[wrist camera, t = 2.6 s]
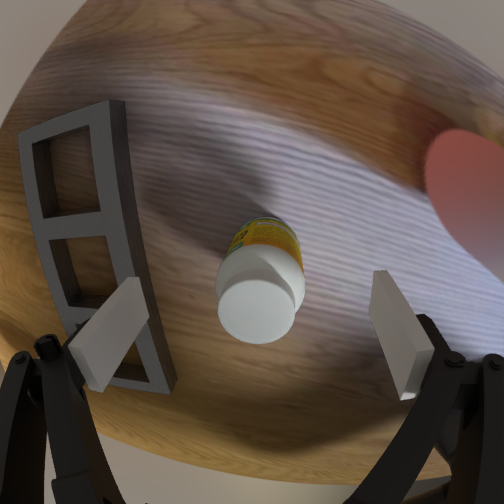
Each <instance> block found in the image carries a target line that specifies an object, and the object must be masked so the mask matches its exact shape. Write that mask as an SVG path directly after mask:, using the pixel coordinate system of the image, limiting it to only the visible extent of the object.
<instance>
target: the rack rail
mask: <svg viewBox="0 0 504 504" xmlns="http://www.w3.org/2000/svg"><path fill="white" fill-rule="evenodd" d="M89 128H90V139H91V148H92V157H93V164H94V172H95V179H96V185H97V192H98V198H99V203H100V206H95V207H88V208H81V209H73V210H67V211H60V212H59V207H58V202H57V196H56V191H55V185H54V178H53V172H52V164H51V156H50V148H49V141H51V140H54V139H57V138H60V137H63V136H66V135H69V134H72V133H75V132H79V131H82V130H85V129H89ZM17 135H18V146H19V156H20V164H21V171H22V178H23V185H24V191H25V196H26V202H27V207H28V212H29V216H30V221H31V225H32V230H33V234H34V238H35V242H36V246H37V249H38V253H39V256H40V260H41V263H42V267H43V270H44V273H45V276H46V280H47V283H48V286H49V289H50V292H51V294H52V297H53V300H54V303H55V306H56V308H57V311H58V314H59V316H60V319H61V321H62V324H63V326H64V329H65V331H66V333H67V336H68V338H70V336H71V335H73V333H74V332H75V331H76V330H77V328H78V327H79V326H80V325H81V324H82V323H83V322H84V321H86V320H87V319H89V318H92V316H93V315H94V314H95V313H96V312H97V311H98V310H99V308H100V307H101V306H102V305H103V304H104V303H105V302H106V301H107V299H108V298H109V297H110V296H97V295H81V292H80V289H79V286H78V283H77V280H76V276H75V273H74V269H73V266H72V262H71V259H70V255H69V251H68V247H67V243H66V239H65V238H78V237H91V236H105V235H106V239H107V243H108V248H109V252H110V256H111V261H112V265H113V269H114V273H115V277H116V280H117V284H118V287H119V286H120V285H121V284H122V283H123V282H124V281H125V280H126V279H127V277H139V279H140V283H141V287H142V291H143V295H144V299H145V302H146V306H147V310H148V313H149V318H148V320H147V321H146V323H145V324H144V326H143V328H142V329H141V331H140V332H139V334H138V335H137V337H136V339H135V343H136V346H137V349H138V352H139V355H140V357H141V360H142V363H143V366H140V365H132V364H125V363H120V365H119V366H118V368H117V370H116V371H115V373H114V375H113V376H112V378H111V380H110V381H109V383H108V385H113V386H118V387H123V388H129V389H135V390H141V391H148V392H155V393H162V394H170V395H171V393H172V391H173V389H174V386H175V384H176V381H177V376H176V373H175V369H174V366H173V363H172V359H171V356H170V353H169V349H168V346H167V342H166V339H165V335H164V331H163V328H162V324H161V320H160V316H159V312H158V308H157V304H156V300H155V296H154V292H153V288H152V283H151V279H150V274H149V270H148V265H147V260H146V255H145V250H144V245H143V240H142V235H141V229H140V224H139V218H138V212H137V206H136V200H135V193H134V186H133V179H132V172H131V164H130V156H129V147H128V137H127V127H126V115H125V102H124V101H116V100H106V101H102V102H99V103H96V104H93V105H90V106H87V107H84V108H81V109H78V110H75V111H72V112H69V113H66V114H64V115H61V116H58V117H56V118H53V119H50V120H48V121H45V122H43V123H40V124H38V125H36V126H33V127H31V128H29V129H26V130H24V131H22V132H20V133H17Z"/></svg>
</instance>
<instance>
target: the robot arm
mask: <svg viewBox="0 0 504 504" xmlns="http://www.w3.org/2000/svg"><path fill="white" fill-rule="evenodd" d="M369 316H370V318H371V321H372V324H373V326H374V329H375V331H376V334H377V336H378V339H379V342H380V344H381V347H382V350H383V352H384V355H385V358H386V360H387V363H388V366H389V369H390V371H391V374H392V377H393V380H394V383H395V386H396V389H397V392H398V395H399V398H400V400H405V399H411V398H416V397H417V395H418V393H419V390H420V389H421V393H420V395H419V397H418V399H417V400H416V402H415V404H414V406H413V408H412V409H411V411H410V413H409V414H408V416H407V418H406V419H405V421H404V423H403V424H402V426H401V428H400V429H399V431H398V432H397V434H396V435H395V437H394V439H393V440H392V442H391V443H390V445H389V446H388V448H387V449H386V450H385V452H384V453H383V455H382V456H381V458H380V459H379V460H378V462H377V463H376V465H375V466H374V467H373V469H372V470H371V471H370V473H369V474H368V475H367V477H366V478H365V479H364V480H363V482H362V483H361V484H360V485H359V487H358V488H357V489H356V490H355V492H354V493H353V494H352V495H351V496H350V497H349V498H348V499H347V500H346V501H345V502H344V503H343V504H504V357H502V356H500V355H498V354H488V355H486V356H485V357H484V359H483V361H482V363H474V362H467V361H466V359H465V357H464V356H463V355H461V354H460V353H458V352H454V351H451V350H450V348H449V346H448V345H447V343H446V341H445V340H444V338H443V337H442V335H441V333H440V332H439V330H438V329H437V328H436V325H435V324H434V322H433V321H432V319H430V318H429V317H428V316H426V315H425V314H419V315H415V314H414V312H413V310H412V309H411V307H410V306H409V304H408V302H407V301H406V299H405V297H404V296H403V294H402V293H401V291H400V290H399V288H398V286H397V285H396V283H395V282H394V280H393V279H392V277H391V276H390V274H389V273H388V271H387V270H381V271H374V275H373V284H372V292H371V300H370V307H369ZM148 318H149V313H148V310H147V306H146V302H145V299H144V295H143V291H142V287H141V283H140V279H139V277H127V279H126V280H125V281H124V282H123V283H122V284H121V285H120V286H119V287H118V288H117V289H116V291H115V292H114V293H113V294H112V295H111V296H110V297H109V298H108V299H107V301H106V302H105V303H104V304H103V305H102V306H101V307H100V308H99V310H98V311H97V312H96V313H95V314H94V315H93V316H92V318H89V319H87V320H86V321H84V322H83V323H82V324H81V325H80V326H79V327H78V328H77V330H76V331H75V332H74V333H73V335H71V336H70V338H69V339H68V340H67V341H66V342H65V343H64V345H63V346H62V347H61V345H60V343H59V341H58V339H57V336H56V335H54V334H47V335H44V336H42V337H40V338H39V339H37V341H36V342H35V343H34V348H35V350H36V352H37V354H38V356H39V357H40V359H32V357H31V355H30V353H29V352H27V351H21V352H18V353H16V354H15V355H14V356H13V357H12V358H11V360H10V362H9V365H8V368H7V370H6V373H5V376H4V379H3V382H2V385H1V388H0V504H44V470H45V454H46V441H47V431H48V437H49V443H50V449H51V454H52V458H53V463H54V468H55V472H56V479H53V480H52V482H51V485H52V490H53V494H54V498H55V501H56V504H126V503H125V501H124V499H123V498H122V495H121V493H120V491H119V489H118V486H117V484H116V482H115V480H114V477H113V475H112V472H111V470H110V467H109V465H108V462H107V460H106V457H105V454H104V452H103V449H102V446H101V444H100V440H99V437H98V435H97V431H96V428H95V425H94V422H93V419H92V415H91V412H90V408H89V405H88V401H87V398H86V394H85V391H84V389H83V387H82V386H83V384H84V383H85V381H86V383H87V385H88V387H89V389H90V390H92V391H97V392H101V393H103V391H104V390H105V388H106V386H107V385H108V383H109V381H110V380H111V378H112V376H113V375H114V373H115V371H116V370H117V368H118V366H119V365H120V363H121V361H122V360H123V358H124V356H125V355H126V353H127V352H128V350H129V348H130V347H131V345H132V343H133V342H134V340H135V339H136V337H137V335H138V334H139V332H140V331H141V329H142V328H143V326H144V324H145V323H146V321H147V320H148ZM433 447H434V448H435V449H436V450H437V452H438V453H439V454H440V455H441V456H442V457H443V459H444V460H445V461H446V462H447V463H448V464H449V467H450V469H451V473H452V476H451V481H449V482H447V483H445V484H443V485H442V486H441V485H440V486H438V487H435V488H433V489H431V490H428V491H426V492H424V493H421V494H419V495H416V496H413V497H411V498H408V499H405V500H403V499H404V497H405V495H406V494H407V492H408V491H409V489H410V488H411V486H412V484H413V483H414V481H415V480H416V478H417V476H418V474H419V473H420V471H421V469H422V467H423V466H424V464H425V462H426V460H427V458H428V456H429V455H430V453H431V451H432V449H433ZM146 504H147V503H146Z"/></svg>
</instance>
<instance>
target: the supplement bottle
mask: <svg viewBox="0 0 504 504" xmlns="http://www.w3.org/2000/svg"><path fill="white" fill-rule="evenodd" d="M216 293H217V297H218V299H219V303H218V309H217V310H218V316H219V320H220V322H221V324H222V326H223V327H224V329H225V330H226V331H227V332H228V333H229V334H231V335H232V336H233V337H235V338H237V339H239V340H241V341H244V342H247V343H252V344H264V343H270V342H273V341H275V340H277V339H279V338H281V337H282V336H283V335H285V334H286V333H287V332H288V331H289V329H290V328H291V326H292V324H293V322H294V318H295V312H296V311H297V310H298V309H299V307H300V305H301V303H302V301H303V298H304V294H305V278H304V271H303V264H302V257H301V250H300V244H299V241H298V238H297V236H296V234H295V232H294V231H293V230H292V229H291V227H290V226H288V225H287V224H286V223H284V222H283V221H281V220H279V219H275V218H272V217H261V218H257V219H253V220H251V221H249V222H247V223H245V224H244V225H243V226H242V227H241V228H240V229H239V230H238V231H237V233H236V235H235V236H234V239H233V241H232V243H231V245H230V247H229V249H228V251H227V253H226V255H225V257H224V259H223V261H222V263H221V265H220V267H219V270H218V273H217V277H216Z"/></svg>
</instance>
